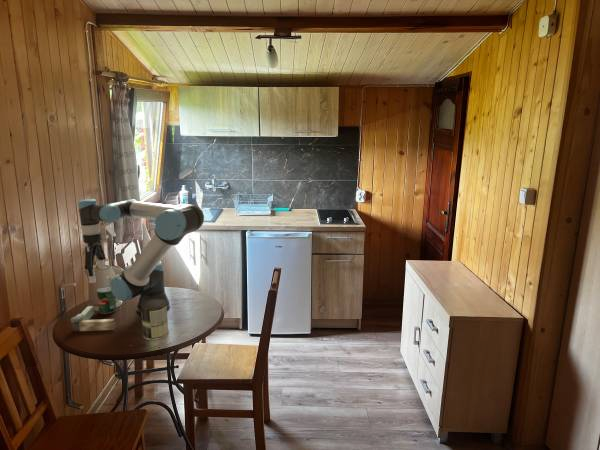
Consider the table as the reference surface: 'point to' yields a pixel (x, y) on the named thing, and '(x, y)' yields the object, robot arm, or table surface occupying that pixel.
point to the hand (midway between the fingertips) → (97, 277)
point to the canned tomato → (106, 300)
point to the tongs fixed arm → (94, 325)
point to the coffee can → (154, 319)
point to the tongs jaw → (84, 315)
